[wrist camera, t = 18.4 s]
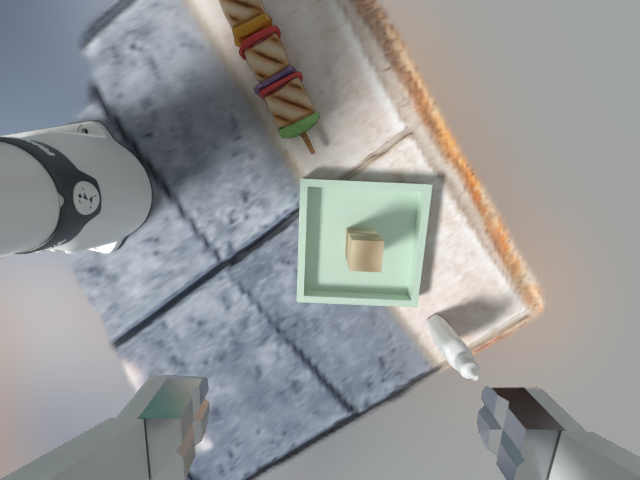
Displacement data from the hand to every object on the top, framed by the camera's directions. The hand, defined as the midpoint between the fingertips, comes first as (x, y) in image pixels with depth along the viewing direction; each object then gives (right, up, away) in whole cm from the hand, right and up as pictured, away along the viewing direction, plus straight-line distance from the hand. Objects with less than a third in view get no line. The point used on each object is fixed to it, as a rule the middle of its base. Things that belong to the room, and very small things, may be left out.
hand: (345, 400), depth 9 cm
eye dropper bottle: (+19, -10, +40) cm, 45 cm away
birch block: (+5, +4, +36) cm, 37 cm away
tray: (+5, +5, +37) cm, 38 cm away
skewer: (-6, +26, +33) cm, 42 cm away
